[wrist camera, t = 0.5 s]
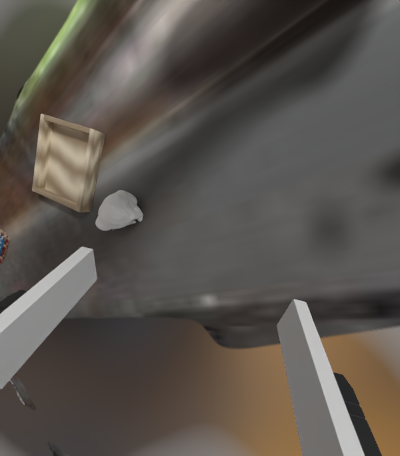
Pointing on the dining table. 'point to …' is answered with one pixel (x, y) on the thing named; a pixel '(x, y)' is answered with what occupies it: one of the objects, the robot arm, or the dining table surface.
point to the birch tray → (67, 162)
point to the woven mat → (3, 245)
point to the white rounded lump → (118, 211)
